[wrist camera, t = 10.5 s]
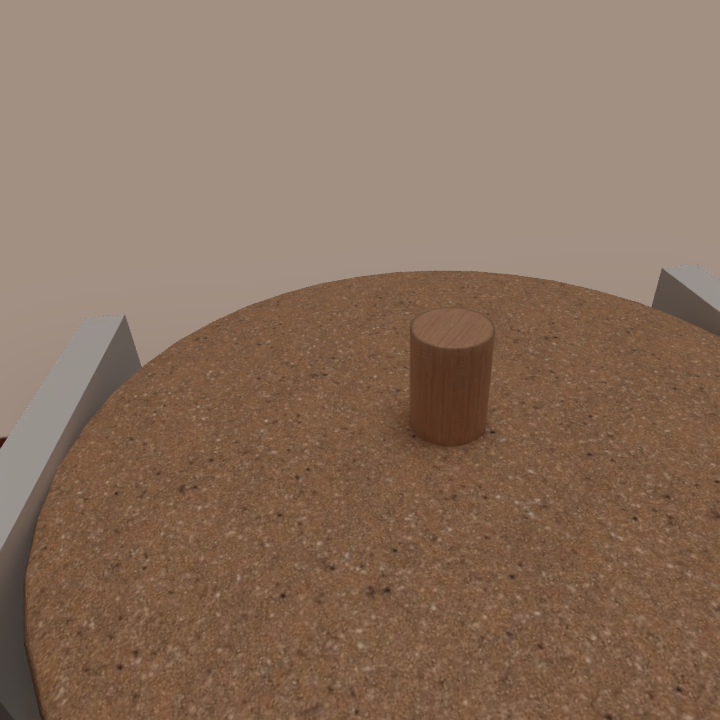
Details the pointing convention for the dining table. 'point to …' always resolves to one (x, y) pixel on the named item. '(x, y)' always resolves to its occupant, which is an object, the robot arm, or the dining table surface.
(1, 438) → the dining table surface
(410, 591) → the lidded jar
